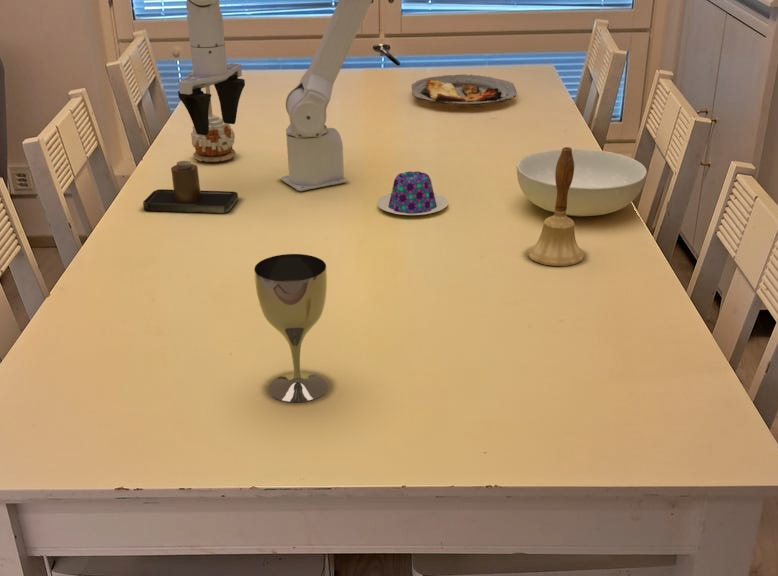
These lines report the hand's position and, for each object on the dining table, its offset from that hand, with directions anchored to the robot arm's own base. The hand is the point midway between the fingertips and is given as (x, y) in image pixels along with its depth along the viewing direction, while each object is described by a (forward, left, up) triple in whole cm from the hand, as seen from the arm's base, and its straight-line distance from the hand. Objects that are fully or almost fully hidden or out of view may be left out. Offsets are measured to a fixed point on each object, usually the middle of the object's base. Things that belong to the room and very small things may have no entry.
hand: (216, 128), depth 177 cm
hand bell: (-31, +56, -11) cm, 65 cm away
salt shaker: (+8, +6, -10) cm, 14 cm away
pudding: (-24, +26, -11) cm, 37 cm away
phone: (+8, +5, -10) cm, 14 cm away
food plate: (-71, -30, -11) cm, 77 cm away
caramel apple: (-6, -18, -10) cm, 21 cm away
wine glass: (+20, +73, -10) cm, 77 cm away
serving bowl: (-47, +41, -11) cm, 63 cm away
